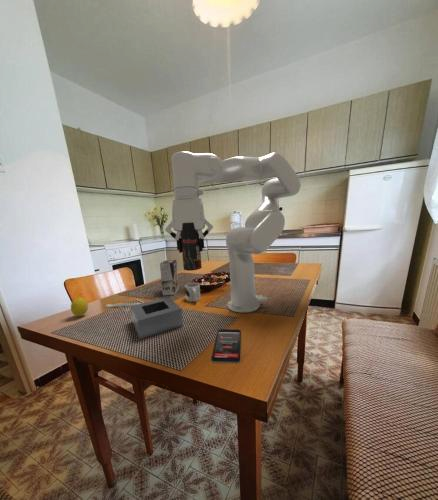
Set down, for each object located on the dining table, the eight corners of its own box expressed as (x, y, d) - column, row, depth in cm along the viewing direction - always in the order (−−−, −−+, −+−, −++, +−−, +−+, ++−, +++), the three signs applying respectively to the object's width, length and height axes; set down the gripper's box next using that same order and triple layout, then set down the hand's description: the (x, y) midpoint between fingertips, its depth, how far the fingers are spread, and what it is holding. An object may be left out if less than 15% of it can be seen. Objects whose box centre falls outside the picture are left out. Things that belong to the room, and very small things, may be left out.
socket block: (170, 311, 81) (168, 296, 80) (183, 325, 69) (181, 308, 68) (132, 321, 74) (130, 306, 73) (139, 339, 62) (137, 320, 61)
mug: (184, 297, 95) (183, 284, 94) (198, 295, 97) (197, 282, 96) (188, 305, 86) (187, 290, 85) (203, 303, 88) (202, 288, 87)
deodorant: (198, 270, 64) (194, 222, 62) (180, 270, 65) (176, 223, 63) (203, 266, 69) (200, 222, 67) (187, 266, 71) (183, 223, 69)
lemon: (69, 318, 79) (66, 299, 78) (82, 312, 84) (80, 294, 83) (79, 320, 77) (75, 300, 76) (92, 314, 82) (89, 295, 81)
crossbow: (148, 302, 96) (148, 297, 95) (138, 313, 83) (138, 309, 83) (113, 302, 95) (113, 298, 95) (98, 314, 82) (98, 309, 82)
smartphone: (210, 361, 50) (218, 329, 65) (210, 363, 50) (218, 331, 65) (240, 362, 49) (241, 329, 64) (240, 364, 49) (241, 331, 64)
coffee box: (175, 295, 99) (172, 262, 97) (162, 295, 100) (159, 263, 97) (179, 289, 108) (176, 259, 106) (167, 289, 109) (164, 260, 106)
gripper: (214, 195, 68) (217, 248, 70) (162, 198, 67) (167, 251, 70) (213, 191, 60) (217, 251, 63) (155, 195, 60) (161, 255, 62)
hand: (191, 251), depth 66 cm, fingers closed on deodorant, 6 cm apart
